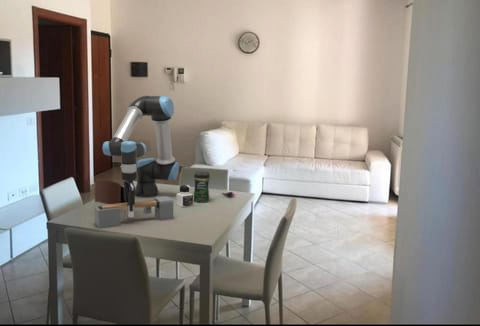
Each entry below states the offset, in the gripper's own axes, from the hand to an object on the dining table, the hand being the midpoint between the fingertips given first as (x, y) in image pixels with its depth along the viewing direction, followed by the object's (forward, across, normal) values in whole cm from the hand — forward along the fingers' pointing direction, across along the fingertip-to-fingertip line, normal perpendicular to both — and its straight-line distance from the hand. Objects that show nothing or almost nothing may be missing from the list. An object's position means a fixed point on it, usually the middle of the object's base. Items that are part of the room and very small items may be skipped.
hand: (129, 215), depth 239 cm
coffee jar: (+3, -22, +51) cm, 55 cm away
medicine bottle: (+3, -17, +38) cm, 41 cm away
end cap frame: (+3, 0, +3) cm, 4 cm away
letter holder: (+3, -41, +1) cm, 41 cm away
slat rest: (+3, -13, +4) cm, 14 cm away
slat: (-4, 0, 0) cm, 4 cm away
